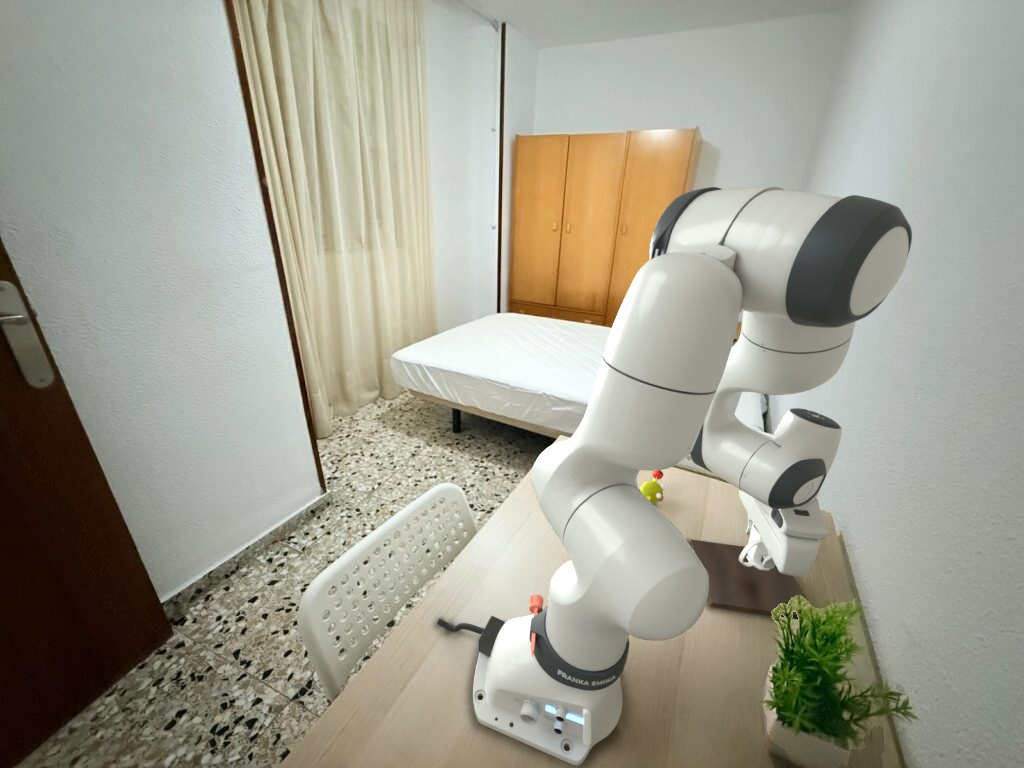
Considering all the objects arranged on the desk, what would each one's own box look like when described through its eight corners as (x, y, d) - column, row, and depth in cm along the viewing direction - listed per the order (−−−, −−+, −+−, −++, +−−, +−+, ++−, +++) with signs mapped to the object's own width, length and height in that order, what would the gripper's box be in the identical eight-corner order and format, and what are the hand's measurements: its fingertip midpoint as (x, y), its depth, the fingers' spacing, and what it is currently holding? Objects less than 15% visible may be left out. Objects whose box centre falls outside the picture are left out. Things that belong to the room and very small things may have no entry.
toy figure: (651, 534, 89) (657, 511, 87) (627, 524, 92) (632, 501, 89) (667, 488, 104) (673, 467, 101) (645, 481, 106) (650, 460, 103)
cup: (787, 570, 76) (804, 540, 73) (750, 587, 73) (766, 556, 69) (755, 542, 82) (769, 513, 78) (719, 556, 78) (732, 526, 75)
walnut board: (710, 606, 74) (711, 602, 74) (689, 543, 88) (690, 539, 87) (814, 622, 72) (816, 618, 72) (776, 555, 86) (778, 551, 85)
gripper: (741, 456, 80) (723, 509, 86) (791, 535, 62) (763, 595, 68) (775, 460, 79) (754, 513, 85) (835, 540, 61) (803, 600, 67)
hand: (758, 550), depth 76 cm, fingers closed on cup, 5 cm apart
